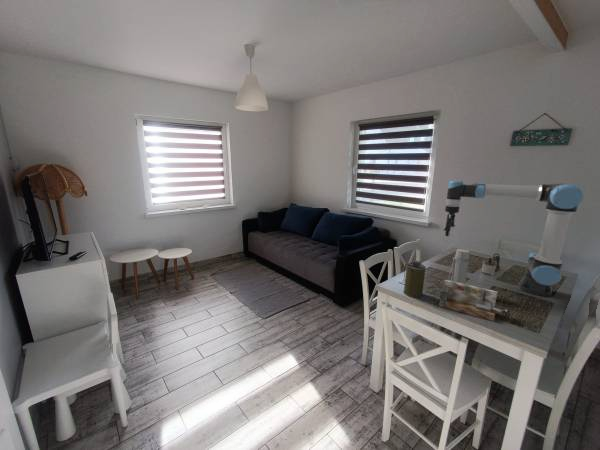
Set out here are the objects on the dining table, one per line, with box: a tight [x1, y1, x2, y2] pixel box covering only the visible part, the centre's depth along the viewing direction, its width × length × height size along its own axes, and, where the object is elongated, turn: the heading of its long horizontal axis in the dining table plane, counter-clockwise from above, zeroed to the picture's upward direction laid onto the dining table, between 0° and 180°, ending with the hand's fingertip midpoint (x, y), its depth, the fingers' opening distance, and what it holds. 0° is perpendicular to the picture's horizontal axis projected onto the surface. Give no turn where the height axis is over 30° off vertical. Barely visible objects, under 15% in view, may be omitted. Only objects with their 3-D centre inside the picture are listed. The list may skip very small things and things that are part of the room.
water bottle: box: [448, 248, 470, 284], centre depth 158 cm, size 9×8×25 cm
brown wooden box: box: [438, 279, 498, 322], centre depth 138 cm, size 24×10×12 cm, turn 55°
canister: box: [403, 259, 427, 299], centre depth 153 cm, size 11×10×20 cm
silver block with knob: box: [475, 292, 511, 318], centre depth 132 cm, size 14×6×9 cm, turn 55°
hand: (448, 238), depth 171 cm, fingers open, 13 cm apart
